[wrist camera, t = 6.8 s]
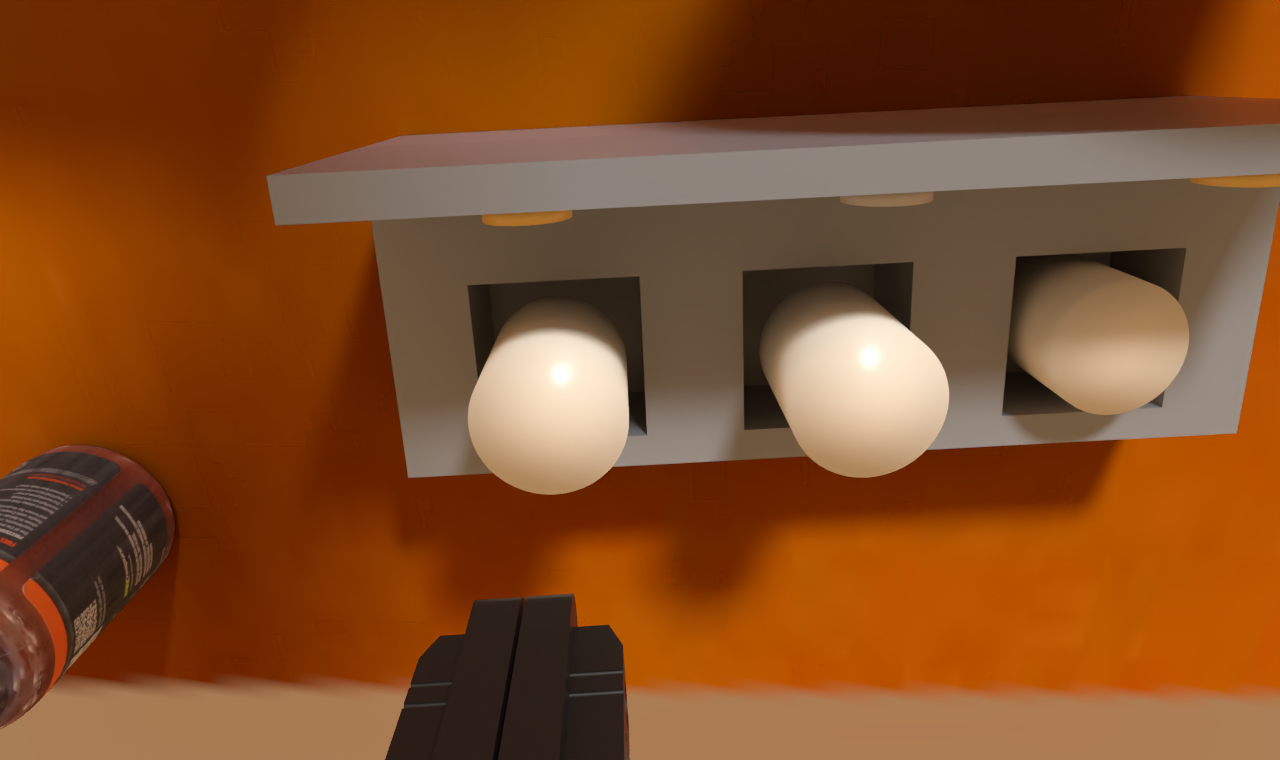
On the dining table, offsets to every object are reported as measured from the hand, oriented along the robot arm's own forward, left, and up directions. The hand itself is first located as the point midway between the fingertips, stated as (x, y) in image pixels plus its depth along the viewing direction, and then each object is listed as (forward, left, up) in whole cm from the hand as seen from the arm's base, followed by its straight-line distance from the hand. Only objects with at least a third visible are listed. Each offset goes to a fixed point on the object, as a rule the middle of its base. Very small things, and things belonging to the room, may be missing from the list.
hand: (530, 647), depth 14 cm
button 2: (0, +16, -17) cm, 23 cm away
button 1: (0, 0, -14) cm, 14 cm away
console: (-2, +8, -19) cm, 20 cm away
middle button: (0, +8, -14) cm, 16 cm away
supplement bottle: (+6, -18, -19) cm, 27 cm away
